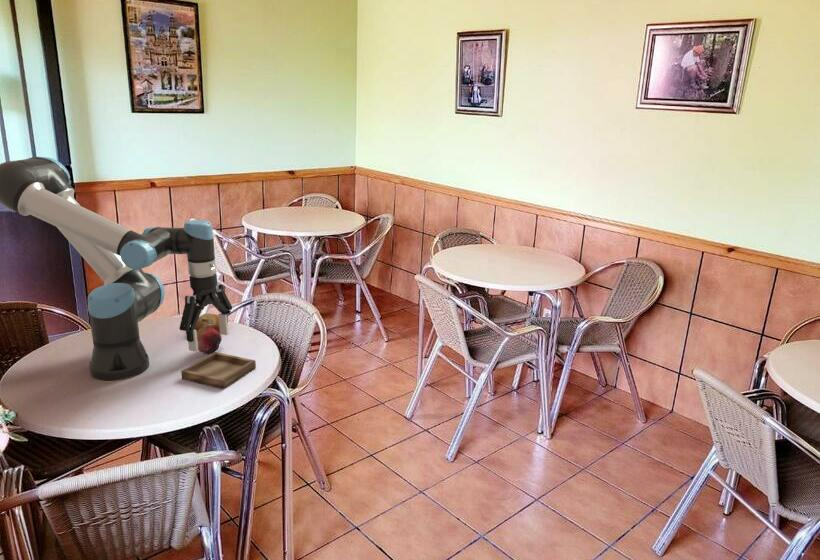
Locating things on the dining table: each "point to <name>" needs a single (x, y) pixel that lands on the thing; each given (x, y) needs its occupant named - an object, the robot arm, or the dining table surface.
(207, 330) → the fruit
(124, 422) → the dining table surface
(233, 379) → the walnut tray
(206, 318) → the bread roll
